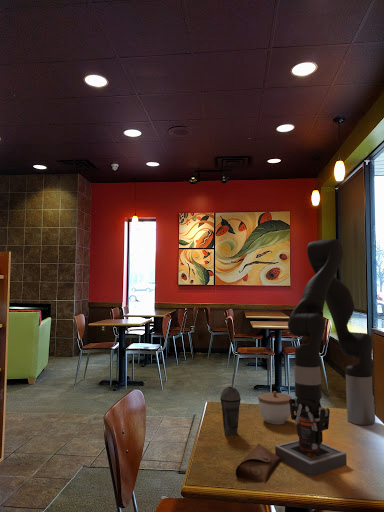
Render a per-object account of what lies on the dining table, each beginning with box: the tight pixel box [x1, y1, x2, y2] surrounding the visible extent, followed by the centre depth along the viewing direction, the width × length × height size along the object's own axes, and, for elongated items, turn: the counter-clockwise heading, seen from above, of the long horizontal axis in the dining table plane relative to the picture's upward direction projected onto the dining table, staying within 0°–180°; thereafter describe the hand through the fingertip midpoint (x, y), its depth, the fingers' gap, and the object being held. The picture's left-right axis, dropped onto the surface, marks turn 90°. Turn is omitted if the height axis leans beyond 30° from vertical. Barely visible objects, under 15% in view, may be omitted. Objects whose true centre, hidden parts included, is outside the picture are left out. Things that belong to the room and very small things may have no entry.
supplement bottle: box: [298, 409, 320, 454], centre depth 113 cm, size 6×6×11 cm
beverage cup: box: [220, 373, 242, 436], centre depth 136 cm, size 7×7×20 cm
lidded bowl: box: [257, 390, 293, 425], centre depth 148 cm, size 13×13×11 cm
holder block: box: [274, 439, 347, 477], centre depth 113 cm, size 14×14×3 cm
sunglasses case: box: [235, 442, 281, 484], centre depth 109 cm, size 18×7×7 cm
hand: (309, 439), depth 113 cm, fingers closed on supplement bottle, 6 cm apart
